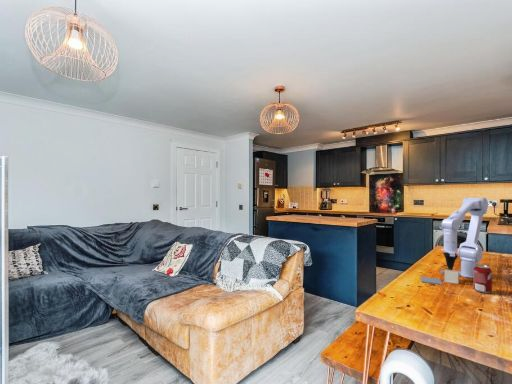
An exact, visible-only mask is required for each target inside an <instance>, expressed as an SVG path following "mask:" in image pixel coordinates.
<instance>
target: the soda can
mask: <svg viewBox="0 0 512 384" xmlns="http://www.w3.org/2000/svg"><path fill="white" fill-rule="evenodd" d="M472 279H473V287H472V288H473V290H475V291H476V292H477V293H481V294H489V293H492V292H493V271H492V269H491V266H489V265H486V264H478V265H475V267H474V276H473V278H472Z"/></svg>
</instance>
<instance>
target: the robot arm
mask: <svg viewBox="0 0 512 384" xmlns="http://www.w3.org/2000/svg"><path fill="white" fill-rule="evenodd" d="M488 208H489V202H488V200H487V198H486V197H468V196H466V197H464V199H462V205H461V207H459V209H458V210H454V211H453V212H452V213H451V214H450V215H449V216H448V217H447V218H444V219H443V220H442V221H441V223H440V225H441V230H442V233H443V248H440V251H442V254H443V256H444V258H445V263H446V267H447V269H448V268H452V269H453V268H454V267H455V262H456V260H457V258H458V257H459V259H460V260H461V262H460V271H459V270H458V271H459V274H460V276H461V277H462V278H463V277H464V278H471V279H473V276H474V267H475V265H479V262H480V261H481V260H482V259H483V247H481V246H480V245H479V244H478V243H479V242H478V241H479V237H480V232H481V228H482V223H483V218H484V215H486V214H487V211H488ZM468 213H469V214H470V215H471V216H470V217H471V218H470V219H469V220H470V221H469V222H470V223H469V225H468V230H467V234H466V235H467V236H466V240H465V241H464V242H462V243H460V244H459V248H458V230H459V229H460V227H461V225H462V224H461V223H462V222H463V221H464V220H465V219H466V214H468Z"/></svg>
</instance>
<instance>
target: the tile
mask: <svg viewBox="0 0 512 384" xmlns="http://www.w3.org/2000/svg"><path fill="white" fill-rule="evenodd" d="M443 270H444V274H443V282H444V283H445V284H455V285H460V278H459V277H460V276H459V274H460V273H459V270H455V269H454V270H453V269H452V270H448V268H447V269H443Z"/></svg>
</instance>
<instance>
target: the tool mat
mask: <svg viewBox="0 0 512 384" xmlns="http://www.w3.org/2000/svg"><path fill="white" fill-rule="evenodd" d="M419 278H420V280H421V283H422V284H423V283H424V284H429V285H430V284H431V285H438V286H443V282H442V279H441V278H437V277H428V276H421V275H420V277H419Z"/></svg>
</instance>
